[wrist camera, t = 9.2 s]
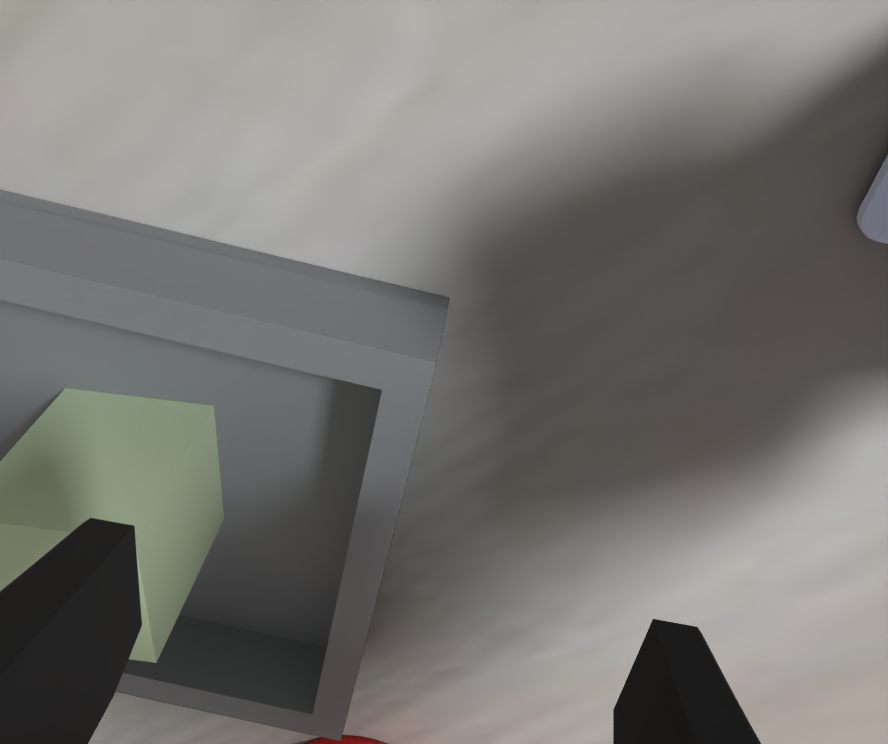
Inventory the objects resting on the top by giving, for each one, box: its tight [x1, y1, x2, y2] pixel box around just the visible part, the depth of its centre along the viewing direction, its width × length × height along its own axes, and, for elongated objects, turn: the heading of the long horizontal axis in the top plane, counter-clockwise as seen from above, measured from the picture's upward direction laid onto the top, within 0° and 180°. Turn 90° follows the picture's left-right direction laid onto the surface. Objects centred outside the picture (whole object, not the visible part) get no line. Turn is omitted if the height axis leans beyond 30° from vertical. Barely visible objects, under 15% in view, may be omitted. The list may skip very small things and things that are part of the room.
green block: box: [0, 388, 224, 663], centre depth 20 cm, size 4×4×5 cm
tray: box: [0, 190, 449, 741], centre depth 22 cm, size 14×14×3 cm
